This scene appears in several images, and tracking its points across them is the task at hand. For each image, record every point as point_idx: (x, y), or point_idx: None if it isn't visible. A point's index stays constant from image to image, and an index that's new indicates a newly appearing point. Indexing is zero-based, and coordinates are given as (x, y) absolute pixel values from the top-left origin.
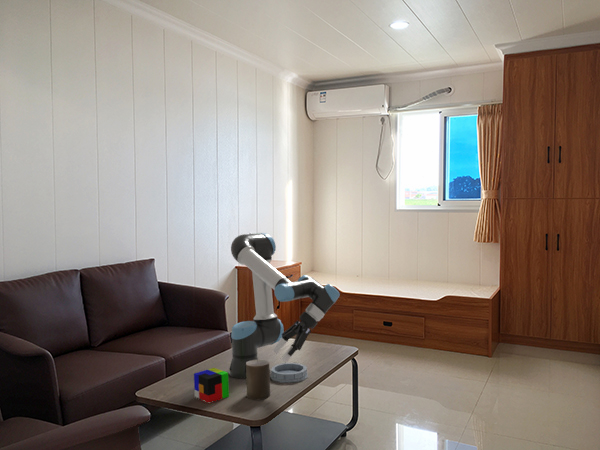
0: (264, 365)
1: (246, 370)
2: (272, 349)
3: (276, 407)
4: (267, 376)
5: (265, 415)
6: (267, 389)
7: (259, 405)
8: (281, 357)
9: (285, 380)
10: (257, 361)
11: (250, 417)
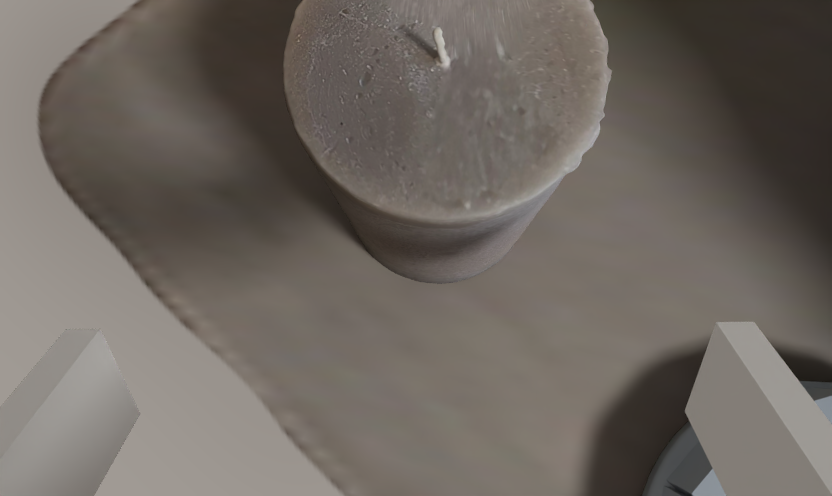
0: (295, 125)
1: None
2: (736, 328)
3: (164, 266)
4: (345, 211)
5: (73, 166)
6: (359, 236)
7: (250, 163)
8: (78, 347)
9: (656, 485)
10: (440, 47)
11: (90, 74)
